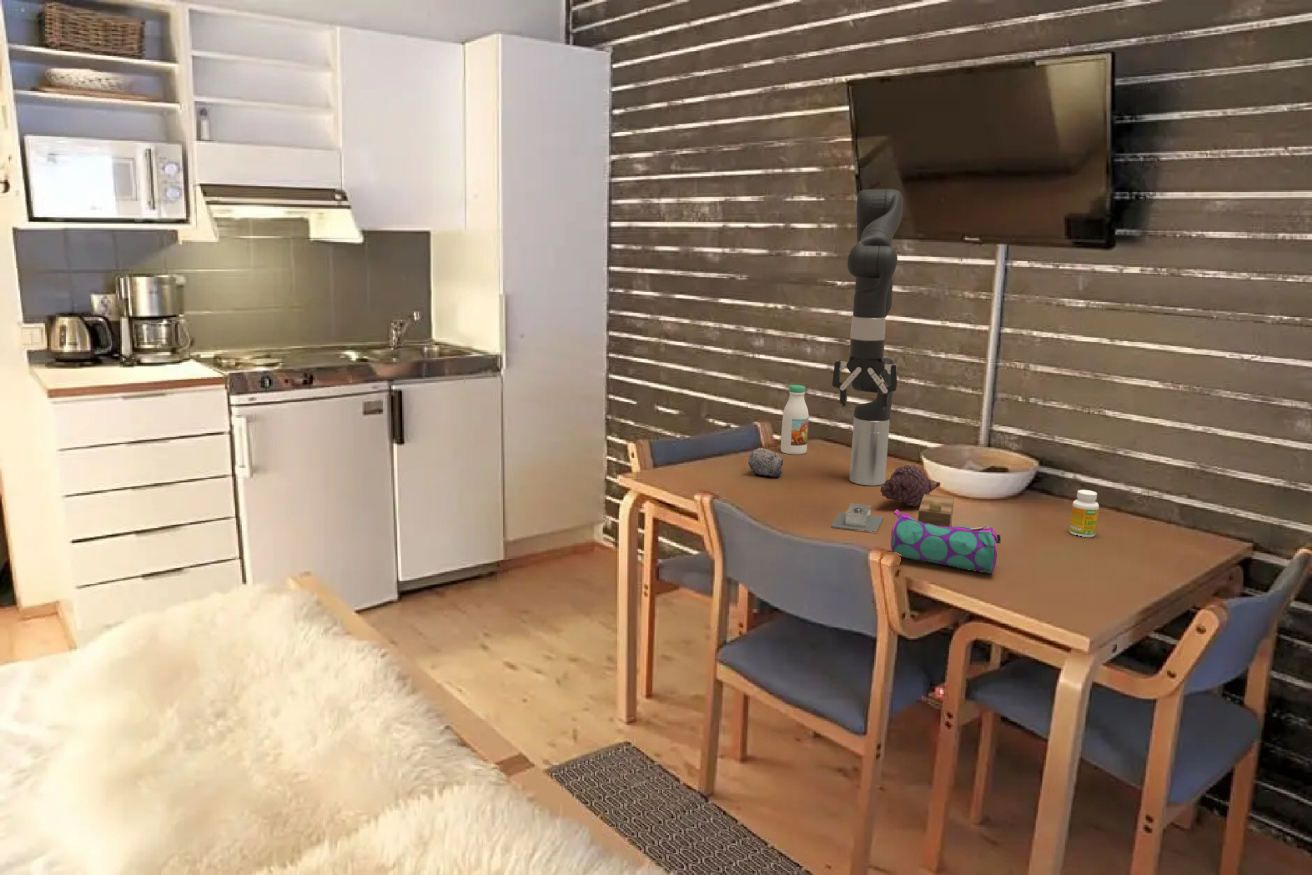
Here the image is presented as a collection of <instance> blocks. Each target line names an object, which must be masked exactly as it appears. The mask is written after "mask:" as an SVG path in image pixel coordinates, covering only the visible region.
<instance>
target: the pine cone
mask: <svg viewBox="0 0 1312 875" xmlns="http://www.w3.org/2000/svg"><path fill="white" fill-rule="evenodd" d="M928 478H929V477H928V476H927V475H926V473H925V472H924V471H923V470H922V469H920V468H918V467H916V466H915V465H914V466H913V465H912V466H910V465H906V464H905V465H903V466H900V467H897V468H896V469H895V470H894V471H893V473H892V474H891V475H890V478H889V479H886V480H885V483H884V484H882V485H880V493H881V496H882V497H885V498H886V500H891V501H893V502H898V503H903V502H904V503H905V504H906V506H911V507H917V506H920V505H921V502H922V499H923V496H924V494H929V495H930V493H931V492H933V491H934V490H935V489H937V488H940V487H941V481H935V480H932V479H928Z"/></svg>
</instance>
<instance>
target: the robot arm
mask: <svg viewBox="0 0 1312 875" xmlns="http://www.w3.org/2000/svg"><path fill="white" fill-rule="evenodd" d="M855 207H856V209H855V210H856V211H855V212H856V213H855V215H856V216H855V218H856V243H855V245H854V246H852V248H851V250H850V251H849V253H848V257H847V262H846V264H847V265H846V266H847V271H849V273H850V275H851V276H853V277H854V278H855V284H854V285H855V286H854V295H853V306H852V307H853V308H852V320H851V327H850V331H849V335H850V339H849V340H850V341H849V342H850V344H849V357H848V361H843V360H840V359H838V360H836V361H835V362H834V366H833V373H832V375H833V376H832V383H831V386H832V387H833V388H837V389H838V390H839V404H841V405H842V407H843V408H844V407H846V406H847V404H848V388H847V387H848V386H849V385H850V384H851V387H852V388H853V389H854V390H855V391H858V392H866V393H874V394H875V393H876V397H875V399H874V400H872V401H870V402H866V403H862V404H858V405H856V406H855V407H854V410H853V427H852V439H851V440H852V441H851V453H850V466H849V467H850V468H849V481H850V482H852V483H853V484H856V485H861V486H862V485H863V486H883V485H884V483H885V481H886V474H887V473H886V470H887V461H888V459H887V458H888V446H889V434H890V433H889V432H890V421H891V420H890V419H891V413H892V412H891V410H892V404H893V394H894V392H896V391H897V388H898V364H897V363H895V361H894V360H893V359H892V358H890V357H884V354H885V342H886V341H885V340H886V337H885V336H886V318H887V316H888V315H889V313H890V311H891V309H892V307H893V306H892V305H893V289H894V288H893V287H894V286H893V285H894V283H893V276H894V274H895V271H896V268H897V265H898V255H897V252H896V250H895V249H894V248H893V247H892V242H893V239H894V235H895V234H896V232H897V231H898V228H899V226H900V224H901V222H902V218H903V214H904V213H903V212H904V197H903V194H902V192H901V191H899V189H893V188H882V189H881V188H880V189H877V188H876V189H875V188H872V189H870V188H869V189H862V190H860V191H859V192H858V195H857V198H856V206H855ZM845 368H847V370H848V371H849V373H850V375H849V376H848V377H847V378H846V380H844V382H841V381H840V379H841V378H840V377H841V372H842V371H844V369H845Z"/></svg>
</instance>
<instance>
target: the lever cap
mask: <svg viewBox="0 0 1312 875" xmlns="http://www.w3.org/2000/svg"><path fill="white" fill-rule="evenodd" d="M845 512H846V522H845V525H848V526H856V527H864V528H866V526H867V524H868V522H869V519H870V515H871V514H872V505H871V504H870V505H869V504H862V503H853V502H851V503H850V505H849V506H848V509H847V510H846V511H845Z"/></svg>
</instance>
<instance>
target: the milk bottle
mask: <svg viewBox="0 0 1312 875" xmlns="http://www.w3.org/2000/svg"><path fill="white" fill-rule="evenodd" d="M788 389H789V392H788V393H789V398H788V399H787V402H786V405H785V406H784V408H783V413H782V423H781V434H780V435H781V437H780V438H781V439H780V440H781V441H780V451H781V453H784V454H789V455H803V454H806V453H807V452H808V439H809V421H810V420H809V416H810V415H809V414H810V413H809V410H808V407H807V404H806V401H805V394H806V386H805V385H801V384H792V385H789V388H788Z"/></svg>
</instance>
